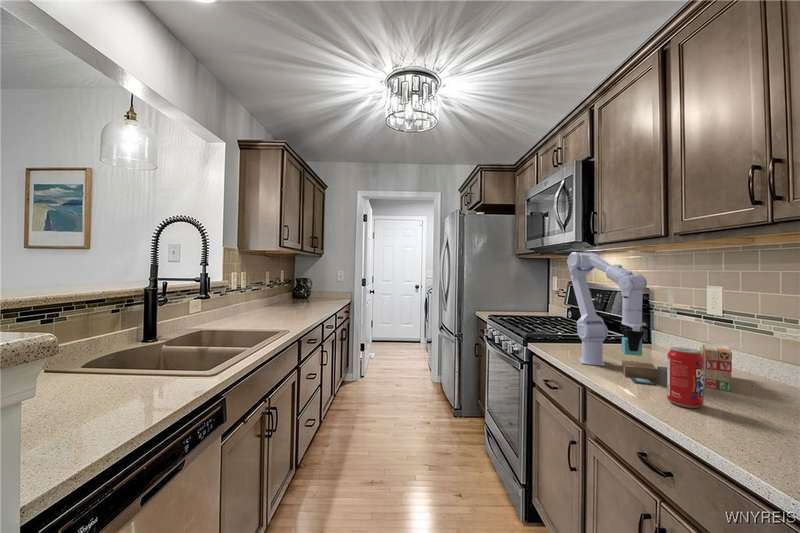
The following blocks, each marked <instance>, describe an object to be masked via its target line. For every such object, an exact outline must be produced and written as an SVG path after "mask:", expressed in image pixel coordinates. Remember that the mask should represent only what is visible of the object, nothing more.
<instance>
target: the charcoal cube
mask: <svg viewBox="0 0 800 533" xmlns="http://www.w3.org/2000/svg"><path fill="white" fill-rule="evenodd" d="M656 369H657V381H656V382H657V383H658V384H659V385H660V386H661V387H667V366H657V368H656Z"/></svg>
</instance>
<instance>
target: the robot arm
mask: <svg viewBox="0 0 800 533" xmlns="http://www.w3.org/2000/svg"><path fill="white" fill-rule="evenodd" d="M566 262H567V266H568V270H569V274H570V279H571V284H572V286H573V287H572V288H573V292H574V295H575V299H576V302H577V306H578V308H579V313H580V318H578V320H577V321H576V324H577V325H576V326H577V328H576V330H577V331H576V333H577V335H578V337H579V339H580V340H581V356H580V357H579V361H580V363H581V364H582V365H591V366H600V367H605V366H606V364H605V362H604V361H603V357H604V356H603V355H604V354H603V353H604V352H603V351H604V347H603V346H604V345H603V344H604V341H605V339H606V338H607V337H608V335H609V329H608V326H607V325H606V324H605V322H604V318H602V317H601V316H599V315H598V314H597V312H596V308H595V306H594V302H593V298H592V295H591V294H592V293H591V292H590V288H589V285H588V281H587V276H588V275H589V274H591V272H592V271H593V270H594V269H597V270H599V271H601V272H603V273H605V276H606V278H607V279H608V280H611V281H612V282H614V283H615V284H616V285H618V287H619V289H620V294H621V296H622V302H621V303H622V305H621V306H622V309H621V311H622V312H621V314H622V315H621V316H622V317H621V325H624V326H619V328H620V330H621V332H622V334H623V337H626V338H627V339H628V345H629V350H630V351H637V350H638V347H639V343H640V340H641V341H642V338H643V336H644V334H645V331H644V330H641V328H642V327H643V326H647V323H646V322H643V291H644V290H645V289H646V288H647V285H648V284H647V283H648V282H647V279H646V277H645V276H643V274H641V273H640V274H639V273H638V274H634V273H633V271H632V270H627V269H626V268H625V267H624V268H623V265H621V264H610V262H607V261H606V260H604V259H603V258H601V257H600V256H599V254H597V253H595V252H576V251H573V252H571V253H570V254H569V255H568V257H567V261H566Z"/></svg>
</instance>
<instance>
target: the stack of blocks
mask: <svg viewBox="0 0 800 533" xmlns="http://www.w3.org/2000/svg"><path fill="white" fill-rule="evenodd" d="M699 351H701V355H702V356H703V357H704V388H706V389H711V390H719V391H725V392H730V391H731V392H732V386H733V385H732V384H733V382H732V372H733V367H732V366H733V352H732V351H731V349H730V348H729V347H728V346H727V344H716V343H708V342H707V343H706V342H703V343H702V347H700V350H699Z"/></svg>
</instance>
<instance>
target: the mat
mask: <svg viewBox="0 0 800 533" xmlns="http://www.w3.org/2000/svg"><path fill="white" fill-rule="evenodd" d="M630 380H631V381H632V382H633V383H634V384H640V385H646V384H647V386H655V387H656V386H658V385H657V383H656V381H654V380H652V379H646V378H636V377H630Z"/></svg>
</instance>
